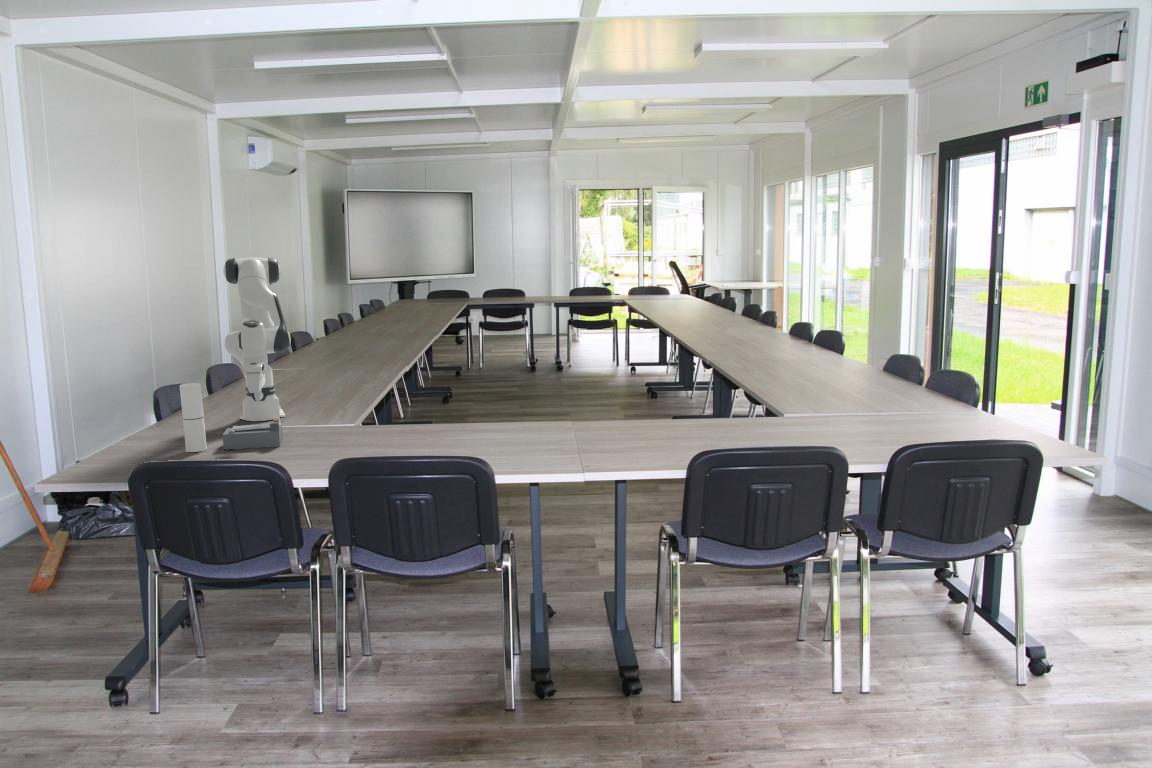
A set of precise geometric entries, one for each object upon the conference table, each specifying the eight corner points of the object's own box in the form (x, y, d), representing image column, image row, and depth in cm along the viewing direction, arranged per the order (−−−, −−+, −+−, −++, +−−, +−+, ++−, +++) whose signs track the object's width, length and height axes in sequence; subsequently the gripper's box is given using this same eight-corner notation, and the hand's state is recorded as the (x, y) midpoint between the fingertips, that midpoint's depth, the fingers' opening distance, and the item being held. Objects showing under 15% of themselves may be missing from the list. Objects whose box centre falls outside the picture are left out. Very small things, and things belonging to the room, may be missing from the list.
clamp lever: (234, 429, 329) (233, 422, 328) (280, 424, 332) (279, 417, 332) (232, 431, 325) (231, 424, 325) (279, 426, 329) (278, 419, 328)
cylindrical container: (188, 454, 318) (181, 387, 313) (184, 450, 323) (177, 384, 319) (208, 450, 322) (202, 384, 317) (204, 447, 327) (198, 382, 323)
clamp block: (228, 443, 333) (226, 420, 331) (283, 439, 337) (281, 417, 335) (223, 450, 322) (221, 426, 321) (280, 446, 326) (278, 423, 325)
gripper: (250, 360, 334) (253, 395, 337) (242, 369, 314) (245, 406, 317) (267, 359, 335) (270, 394, 338) (260, 368, 316) (263, 405, 318)
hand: (258, 400), depth 327 cm, fingers closed
